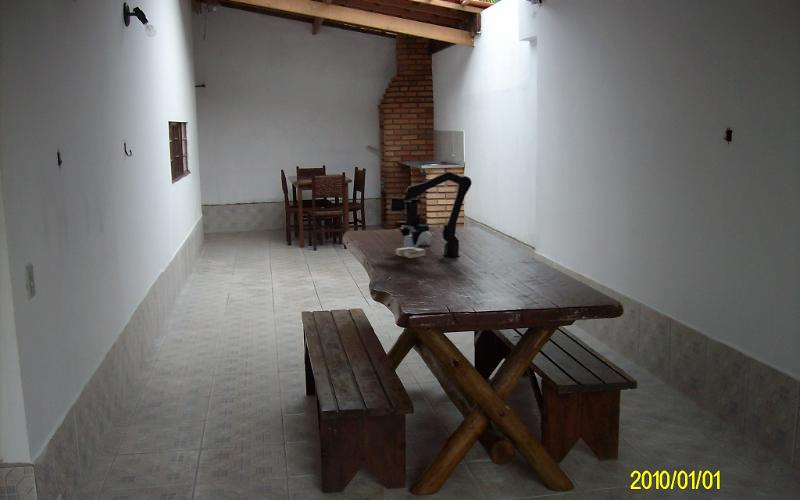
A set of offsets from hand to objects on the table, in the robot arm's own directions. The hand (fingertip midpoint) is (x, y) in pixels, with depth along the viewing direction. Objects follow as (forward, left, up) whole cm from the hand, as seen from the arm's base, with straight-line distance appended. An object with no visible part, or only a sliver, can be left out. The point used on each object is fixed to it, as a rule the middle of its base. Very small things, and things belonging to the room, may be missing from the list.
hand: (411, 244), depth 351 cm
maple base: (0, 0, -6) cm, 6 cm away
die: (+19, -27, -6) cm, 34 cm away
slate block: (0, 0, -1) cm, 1 cm away
